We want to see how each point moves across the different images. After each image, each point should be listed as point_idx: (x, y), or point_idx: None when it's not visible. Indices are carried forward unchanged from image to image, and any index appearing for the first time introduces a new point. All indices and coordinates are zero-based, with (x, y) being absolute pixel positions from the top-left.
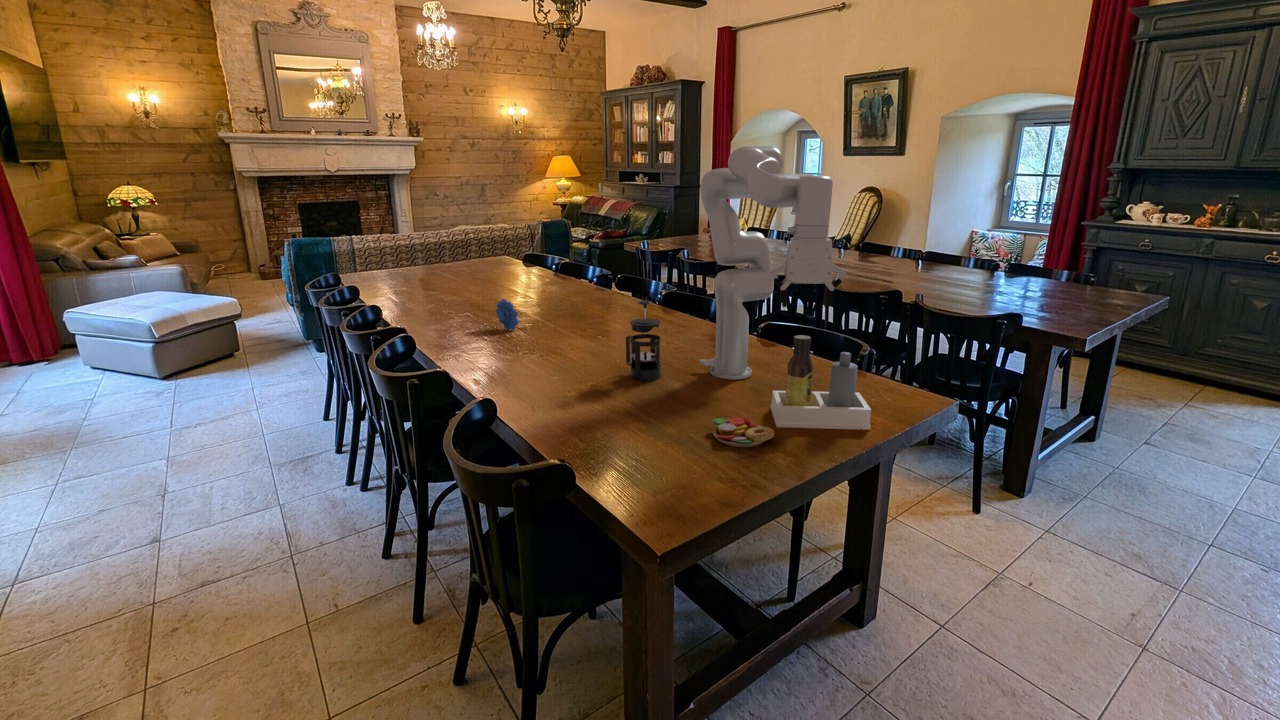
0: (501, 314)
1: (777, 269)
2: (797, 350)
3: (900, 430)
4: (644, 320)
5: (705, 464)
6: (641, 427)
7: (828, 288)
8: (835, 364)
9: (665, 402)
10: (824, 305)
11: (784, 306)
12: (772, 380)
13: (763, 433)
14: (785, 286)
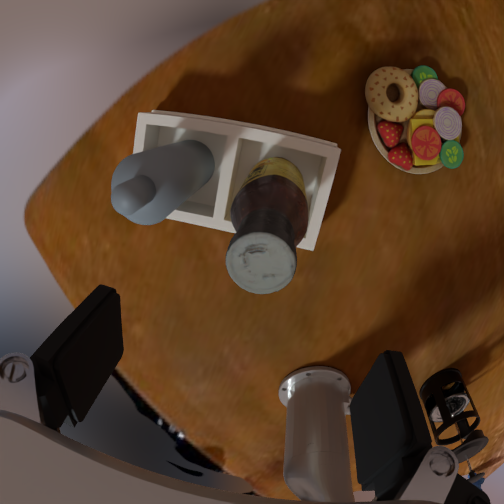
0: (482, 481)
1: None
2: (287, 227)
3: (108, 108)
4: (465, 455)
5: (482, 49)
6: None
7: (40, 390)
8: (164, 201)
9: (469, 291)
10: (119, 324)
11: (396, 351)
12: (255, 355)
13: (394, 72)
14: (430, 475)
